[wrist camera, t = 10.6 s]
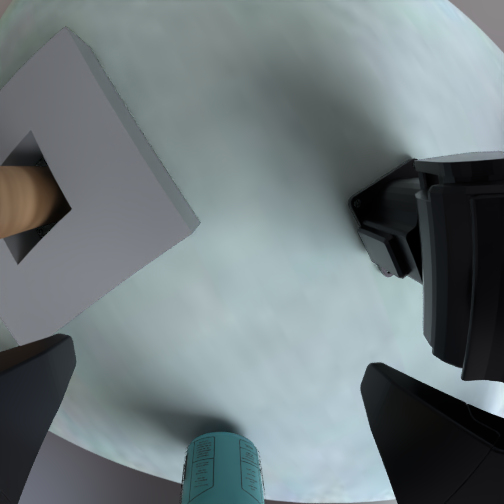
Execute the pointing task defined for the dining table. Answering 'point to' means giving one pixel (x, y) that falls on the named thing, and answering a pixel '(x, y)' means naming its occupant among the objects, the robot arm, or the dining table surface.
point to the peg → (29, 199)
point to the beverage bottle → (222, 471)
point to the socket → (80, 190)
